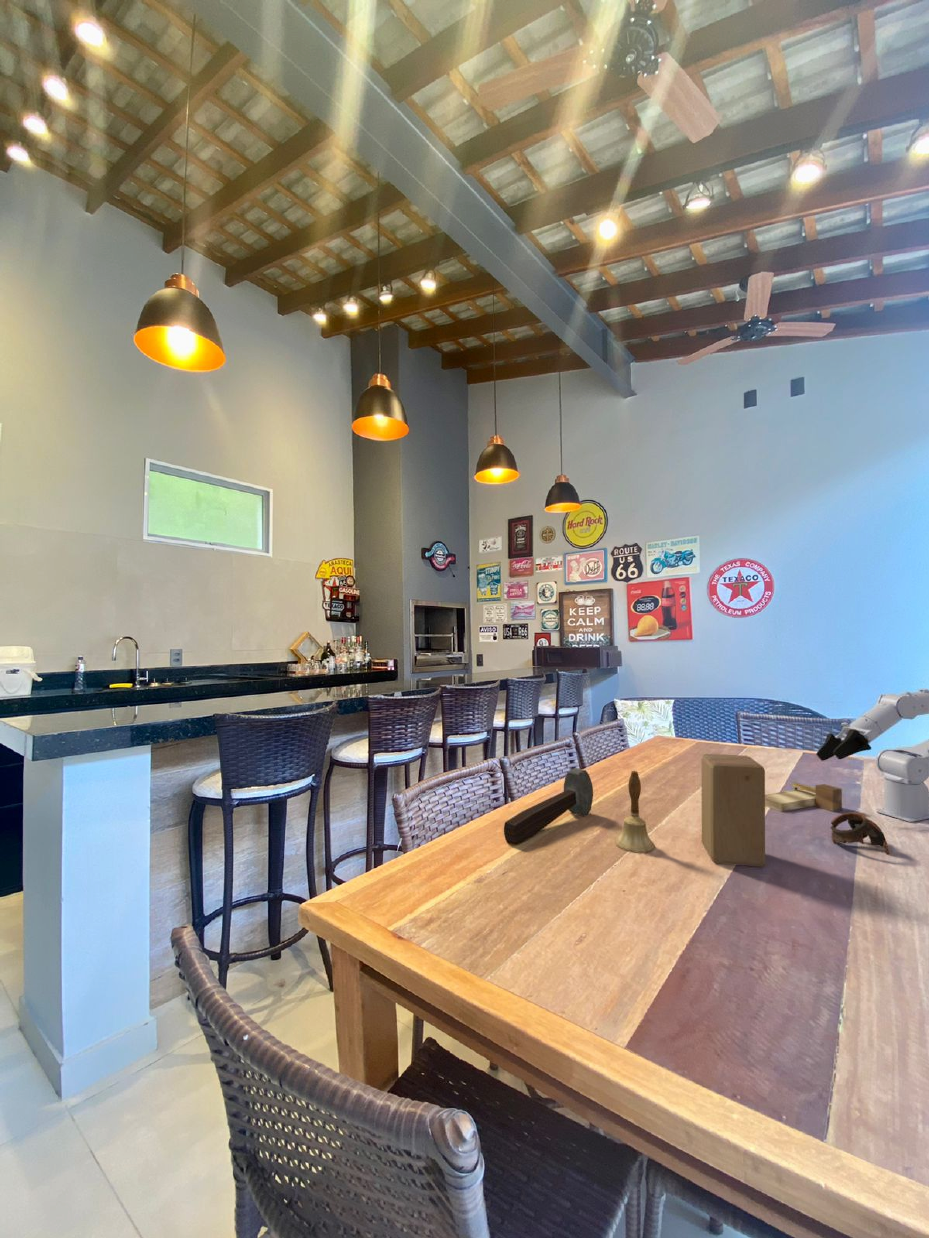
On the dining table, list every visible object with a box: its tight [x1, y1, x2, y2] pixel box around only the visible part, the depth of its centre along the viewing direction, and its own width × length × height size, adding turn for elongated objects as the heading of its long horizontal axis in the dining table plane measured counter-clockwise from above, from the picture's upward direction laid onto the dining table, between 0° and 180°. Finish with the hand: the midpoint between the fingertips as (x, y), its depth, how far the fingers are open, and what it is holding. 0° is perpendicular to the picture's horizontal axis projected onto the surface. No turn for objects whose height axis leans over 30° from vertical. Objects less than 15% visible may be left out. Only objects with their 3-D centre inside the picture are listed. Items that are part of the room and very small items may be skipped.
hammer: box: [503, 767, 594, 846], centre depth 127 cm, size 5×11×30 cm
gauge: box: [791, 781, 843, 812], centre depth 144 cm, size 4×12×6 cm, turn 22°
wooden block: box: [701, 753, 766, 868], centre depth 111 cm, size 10×10×20 cm
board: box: [765, 788, 816, 813], centre depth 144 cm, size 17×7×2 cm, turn 112°
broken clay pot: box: [830, 811, 890, 855], centre depth 117 cm, size 12×10×8 cm
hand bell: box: [614, 770, 656, 853], centre depth 117 cm, size 8×8×16 cm
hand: (827, 756), depth 133 cm, fingers open, 7 cm apart
